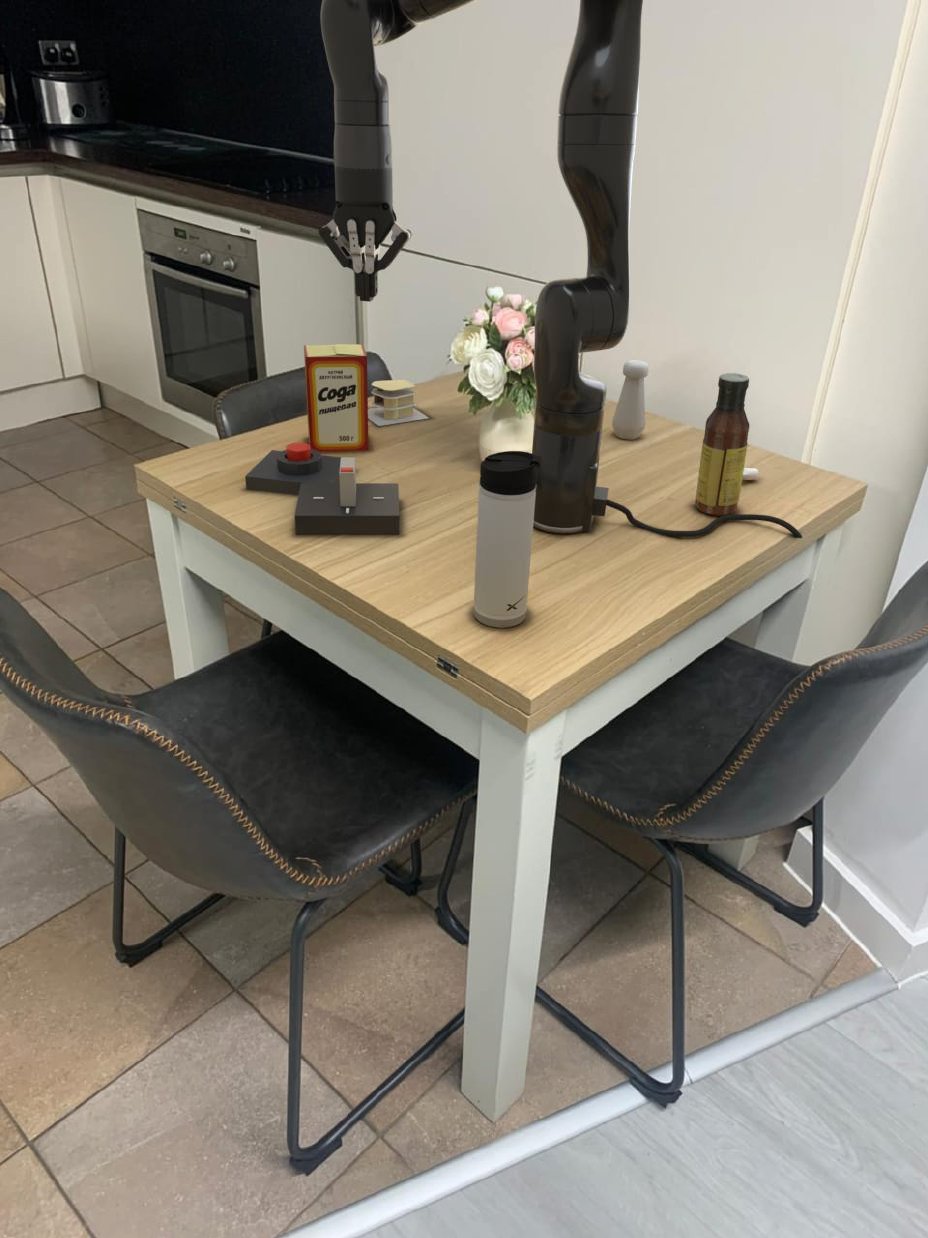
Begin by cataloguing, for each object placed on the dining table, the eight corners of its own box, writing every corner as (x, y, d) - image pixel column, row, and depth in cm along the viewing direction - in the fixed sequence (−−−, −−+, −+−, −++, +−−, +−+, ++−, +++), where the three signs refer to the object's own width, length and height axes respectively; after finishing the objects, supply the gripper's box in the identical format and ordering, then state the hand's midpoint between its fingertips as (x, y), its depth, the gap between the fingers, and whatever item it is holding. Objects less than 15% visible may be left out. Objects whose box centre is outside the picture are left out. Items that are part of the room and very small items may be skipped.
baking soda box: (310, 452, 154) (305, 354, 146) (308, 438, 160) (303, 342, 151) (368, 450, 156) (366, 353, 148) (365, 436, 161) (363, 342, 153)
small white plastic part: (765, 486, 149) (769, 468, 147) (727, 485, 148) (730, 466, 147) (759, 477, 152) (763, 459, 150) (722, 476, 152) (725, 458, 150)
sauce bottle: (737, 503, 143) (763, 372, 132) (735, 520, 137) (762, 385, 127) (693, 497, 144) (715, 367, 134) (690, 514, 139) (712, 380, 128)
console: (398, 502, 139) (398, 482, 137) (399, 535, 130) (399, 514, 128) (301, 502, 138) (300, 481, 136) (295, 535, 128) (294, 514, 127)
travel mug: (524, 632, 109) (537, 469, 99) (468, 624, 110) (475, 462, 100) (532, 605, 114) (545, 448, 104) (478, 598, 115) (486, 442, 105)
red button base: (352, 471, 148) (351, 447, 146) (330, 499, 139) (329, 473, 137) (272, 462, 150) (271, 438, 148) (246, 489, 141) (243, 464, 139)
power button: (314, 454, 144) (313, 443, 143) (306, 463, 141) (306, 452, 140) (291, 452, 144) (291, 441, 143) (283, 460, 141) (282, 449, 140)
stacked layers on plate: (406, 403, 177) (406, 374, 174) (429, 418, 170) (429, 388, 168) (357, 410, 173) (356, 380, 170) (378, 426, 166) (378, 395, 163)
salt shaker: (605, 430, 168) (613, 357, 161) (634, 428, 169) (644, 355, 163) (619, 442, 163) (628, 367, 156) (649, 439, 165) (659, 365, 158)
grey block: (342, 490, 134) (340, 455, 132) (356, 490, 134) (355, 455, 132) (340, 506, 130) (339, 470, 127) (355, 506, 130) (354, 470, 127)
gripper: (419, 162, 126) (418, 297, 135) (323, 158, 128) (329, 291, 137) (406, 168, 119) (406, 309, 128) (305, 163, 121) (312, 302, 130)
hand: (366, 299), depth 132 cm, fingers closed
